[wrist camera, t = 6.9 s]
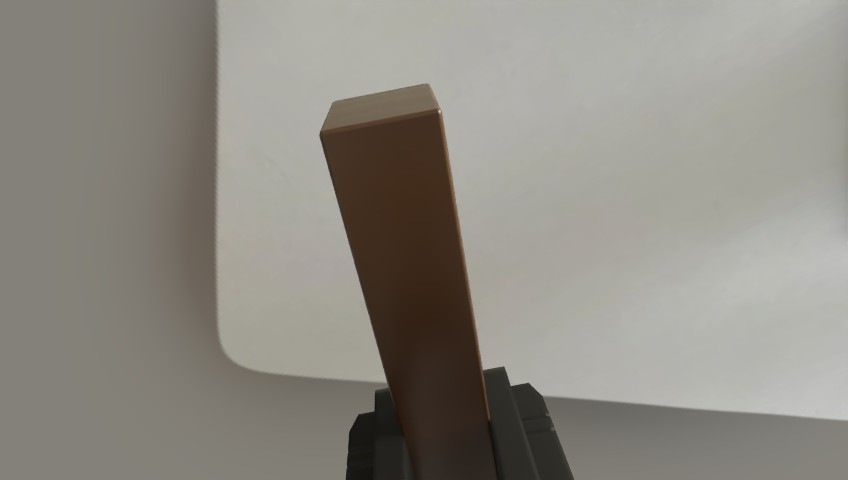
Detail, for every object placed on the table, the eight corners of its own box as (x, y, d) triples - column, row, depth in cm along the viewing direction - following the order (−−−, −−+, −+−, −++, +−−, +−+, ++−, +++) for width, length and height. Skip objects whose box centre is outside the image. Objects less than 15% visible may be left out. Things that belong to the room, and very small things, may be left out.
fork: (292, 108, 10) (268, 141, 8) (469, 74, 10) (491, 98, 8) (436, 601, 18) (443, 682, 16) (535, 584, 18) (555, 663, 16)
